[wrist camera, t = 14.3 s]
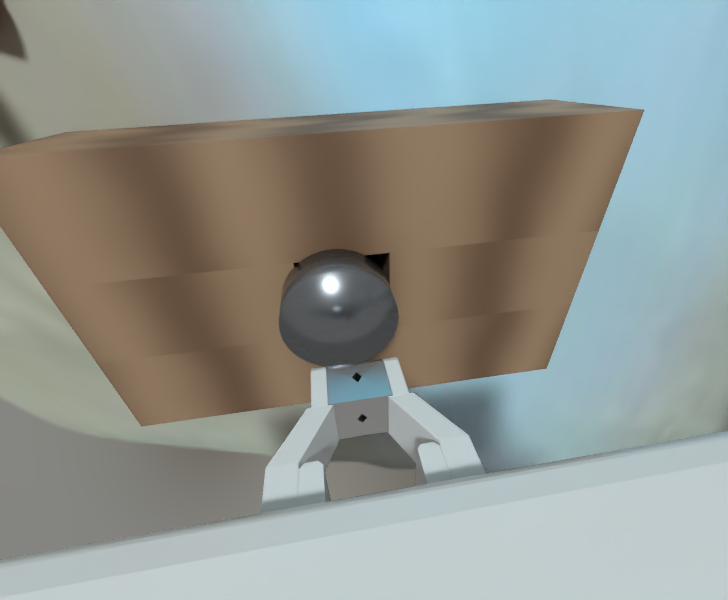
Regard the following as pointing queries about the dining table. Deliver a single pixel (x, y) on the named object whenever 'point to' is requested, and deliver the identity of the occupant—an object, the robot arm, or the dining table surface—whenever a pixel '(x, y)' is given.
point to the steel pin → (337, 308)
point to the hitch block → (313, 239)
